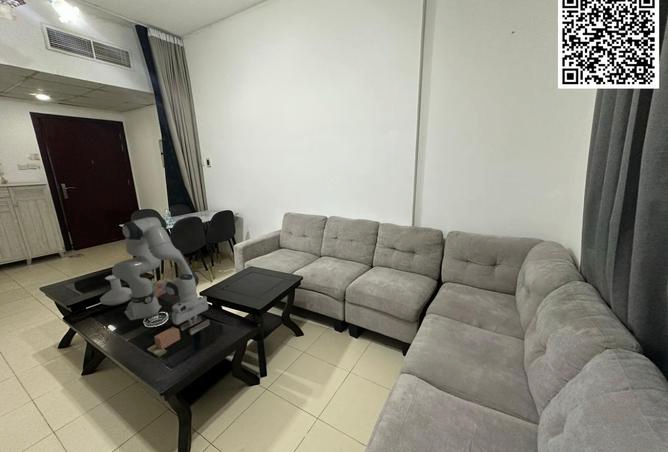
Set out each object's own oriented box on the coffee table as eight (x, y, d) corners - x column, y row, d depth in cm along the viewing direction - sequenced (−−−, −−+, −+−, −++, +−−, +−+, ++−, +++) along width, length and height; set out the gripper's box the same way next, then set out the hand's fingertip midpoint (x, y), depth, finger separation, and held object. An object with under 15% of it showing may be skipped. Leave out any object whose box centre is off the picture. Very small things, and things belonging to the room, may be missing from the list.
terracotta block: (155, 346, 140) (154, 336, 138) (174, 336, 148) (173, 326, 147) (161, 349, 137) (159, 339, 136) (180, 338, 146) (178, 329, 144)
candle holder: (135, 292, 207) (130, 269, 203) (137, 301, 192) (132, 277, 187) (101, 300, 194) (96, 276, 190) (100, 311, 179) (94, 285, 175)
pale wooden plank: (147, 350, 139) (146, 343, 138) (202, 319, 166) (201, 314, 165) (159, 356, 134) (157, 349, 133) (213, 324, 161) (213, 318, 160)
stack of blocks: (162, 290, 210) (160, 275, 207) (169, 290, 209) (167, 276, 206) (138, 303, 189) (135, 287, 187) (145, 304, 188) (142, 288, 185)
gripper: (202, 293, 162) (205, 313, 165) (168, 308, 145) (172, 330, 147) (209, 295, 159) (211, 315, 162) (175, 311, 142) (179, 334, 144)
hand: (192, 323), depth 155 cm, fingers closed
